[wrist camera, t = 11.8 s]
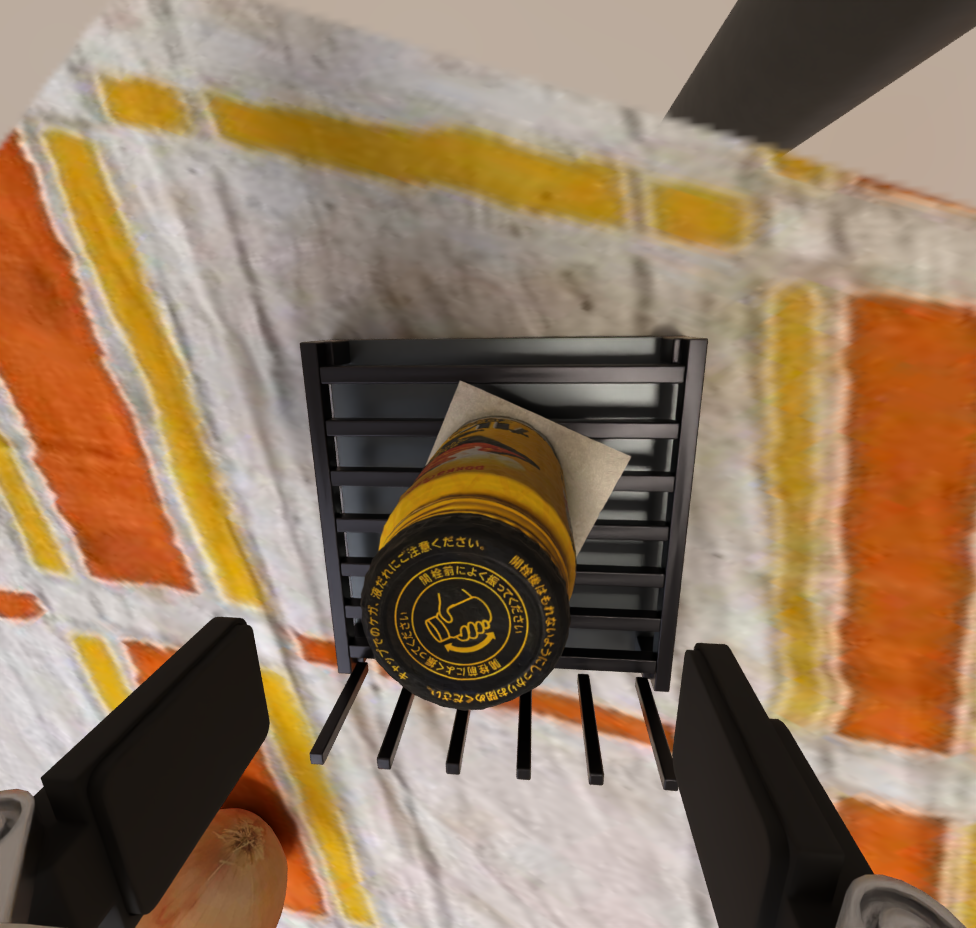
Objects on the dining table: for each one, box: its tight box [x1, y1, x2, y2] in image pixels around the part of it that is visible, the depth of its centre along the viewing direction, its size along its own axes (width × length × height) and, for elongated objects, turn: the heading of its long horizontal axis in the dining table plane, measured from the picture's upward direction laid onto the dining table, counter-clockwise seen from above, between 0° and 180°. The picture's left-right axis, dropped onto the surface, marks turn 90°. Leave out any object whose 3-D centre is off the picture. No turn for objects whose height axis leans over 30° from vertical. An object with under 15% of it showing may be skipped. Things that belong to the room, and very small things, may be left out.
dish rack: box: [300, 336, 708, 791], centre depth 23 cm, size 18×18×9 cm
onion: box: [135, 808, 287, 928], centre depth 31 cm, size 10×10×10 cm
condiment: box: [360, 381, 631, 711], centre depth 17 cm, size 7×8×12 cm
